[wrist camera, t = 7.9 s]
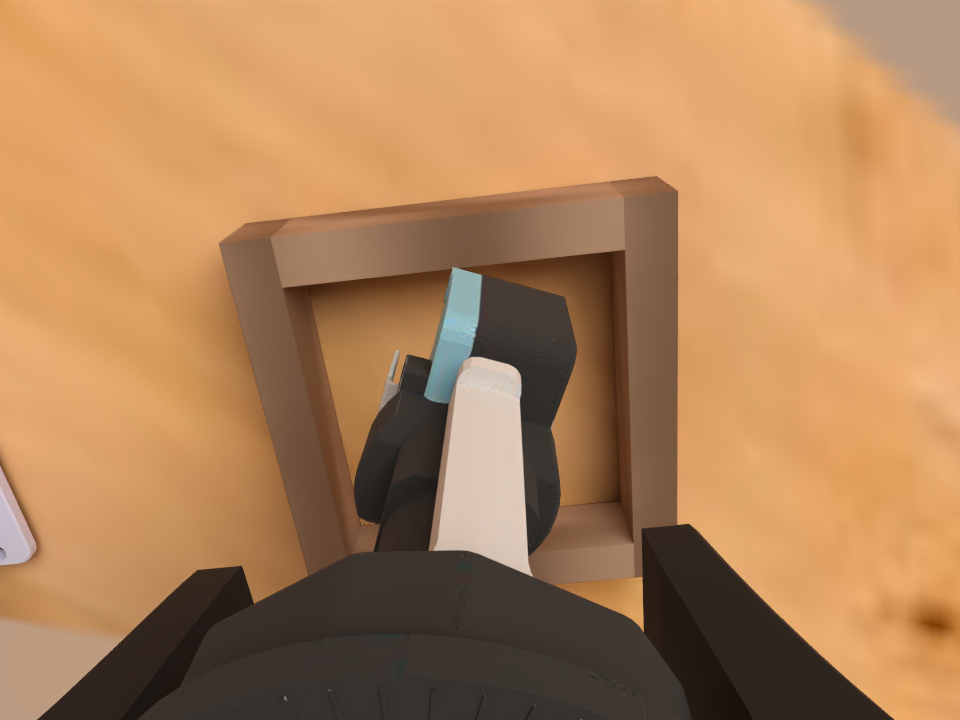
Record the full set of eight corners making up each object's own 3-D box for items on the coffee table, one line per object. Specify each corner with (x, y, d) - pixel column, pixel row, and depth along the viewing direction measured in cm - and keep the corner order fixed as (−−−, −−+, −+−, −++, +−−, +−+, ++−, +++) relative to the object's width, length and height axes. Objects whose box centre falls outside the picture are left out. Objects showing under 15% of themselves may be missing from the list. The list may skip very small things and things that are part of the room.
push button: (536, 566, 15) (587, 1320, 6) (301, 511, 15) (-2, 1244, 6) (645, 295, 13) (1009, 960, 4) (359, 217, 12) (-49, 762, 3)
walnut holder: (330, 560, 22) (317, 606, 20) (245, 223, 18) (218, 243, 16) (660, 529, 21) (677, 573, 20) (656, 176, 17) (677, 190, 15)
